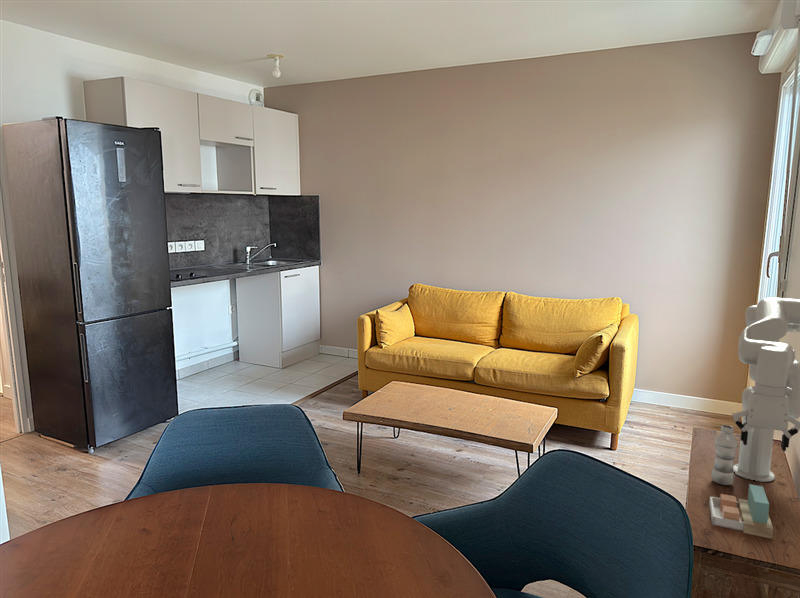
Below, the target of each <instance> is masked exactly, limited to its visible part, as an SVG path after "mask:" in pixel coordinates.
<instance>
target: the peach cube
mask: <svg viewBox="0 0 800 598" xmlns="http://www.w3.org/2000/svg"><path fill="white" fill-rule="evenodd" d="M739 516H740V514H739V509H738V508H735V507H730V506H725V505H723V507H722V518H727V519H732V520H737V521H739Z"/></svg>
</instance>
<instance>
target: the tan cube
mask: <svg viewBox="0 0 800 598" xmlns="http://www.w3.org/2000/svg"><path fill="white" fill-rule="evenodd" d="M719 498H720V505H719V506H720V511H721V512H722V507H723V505H725V506H730V507H735V508H736V507H737V501H738V500H737V498H736V496H734V495H730V494H724V493H720V496H719Z"/></svg>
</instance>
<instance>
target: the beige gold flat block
mask: <svg viewBox="0 0 800 598" xmlns="http://www.w3.org/2000/svg"><path fill="white" fill-rule="evenodd" d="M737 499H738V500H737V501H739V506H738V509H739V514H740V519H741V521H742V522H744V526H743V531H742V532H743V534H748V535H752V536H753V535H754V536H757V537H763V538H767V539H773V537H774V536H773V535H774V526H773V523H772V520H771V518H770V514H769V513H768V521H767V524H764V523H759V522H754V521H753V520H752V517H751V513H750V510H749V507H748V503H747V501H748V499H744V498H742V499H741V498H737Z"/></svg>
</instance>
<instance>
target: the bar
mask: <svg viewBox="0 0 800 598" xmlns="http://www.w3.org/2000/svg"><path fill="white" fill-rule="evenodd" d="M747 500H748V501H747V503H748V507H749V510H750V513H751V517H752V520H753V521H754V522H759V523H764V524H767V521H768V514H769V510H770V502H769V499H768V497H767V495H766V492H765V488H764V486H763V485H762V486H761V485H756V484H752V483H749V484H748V494H747Z"/></svg>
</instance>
